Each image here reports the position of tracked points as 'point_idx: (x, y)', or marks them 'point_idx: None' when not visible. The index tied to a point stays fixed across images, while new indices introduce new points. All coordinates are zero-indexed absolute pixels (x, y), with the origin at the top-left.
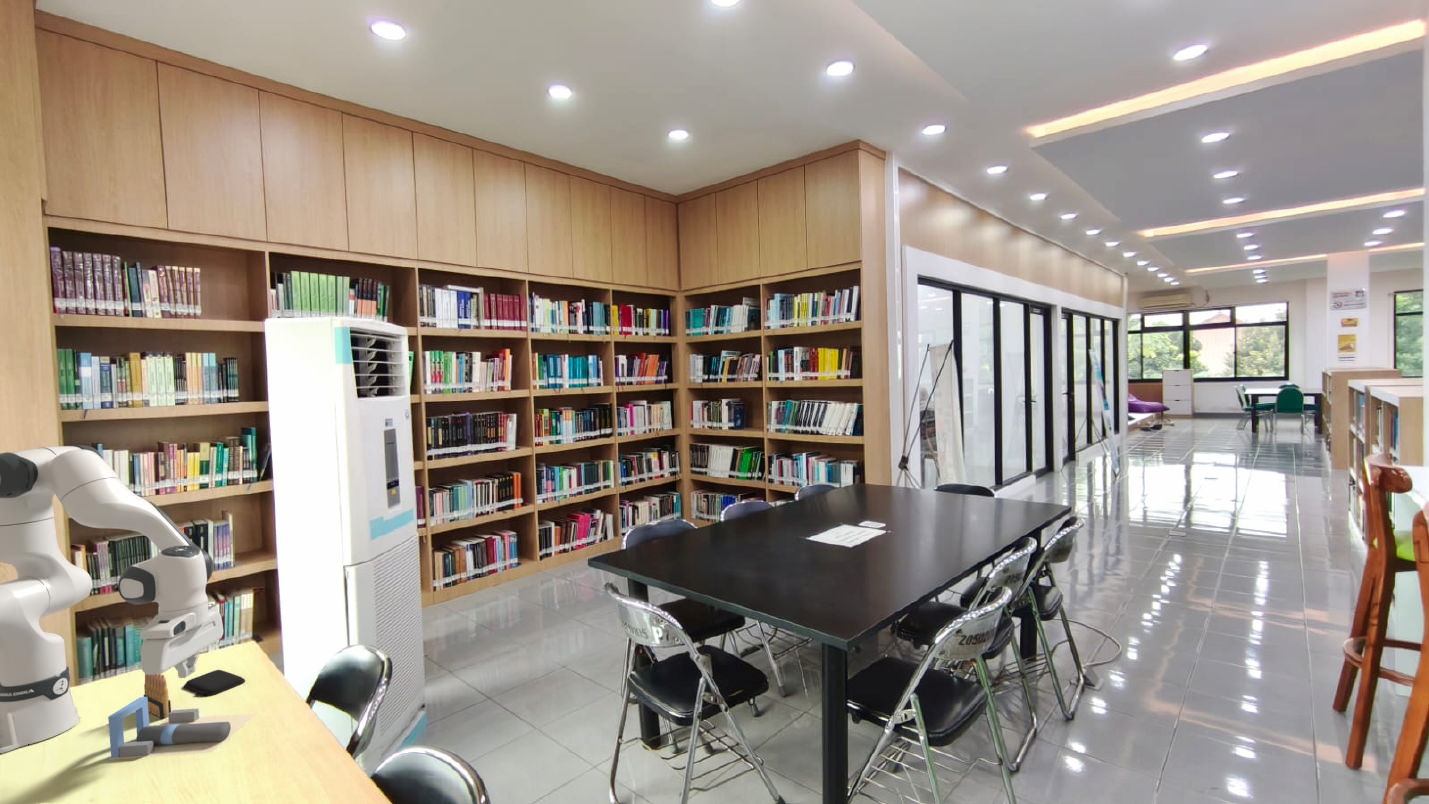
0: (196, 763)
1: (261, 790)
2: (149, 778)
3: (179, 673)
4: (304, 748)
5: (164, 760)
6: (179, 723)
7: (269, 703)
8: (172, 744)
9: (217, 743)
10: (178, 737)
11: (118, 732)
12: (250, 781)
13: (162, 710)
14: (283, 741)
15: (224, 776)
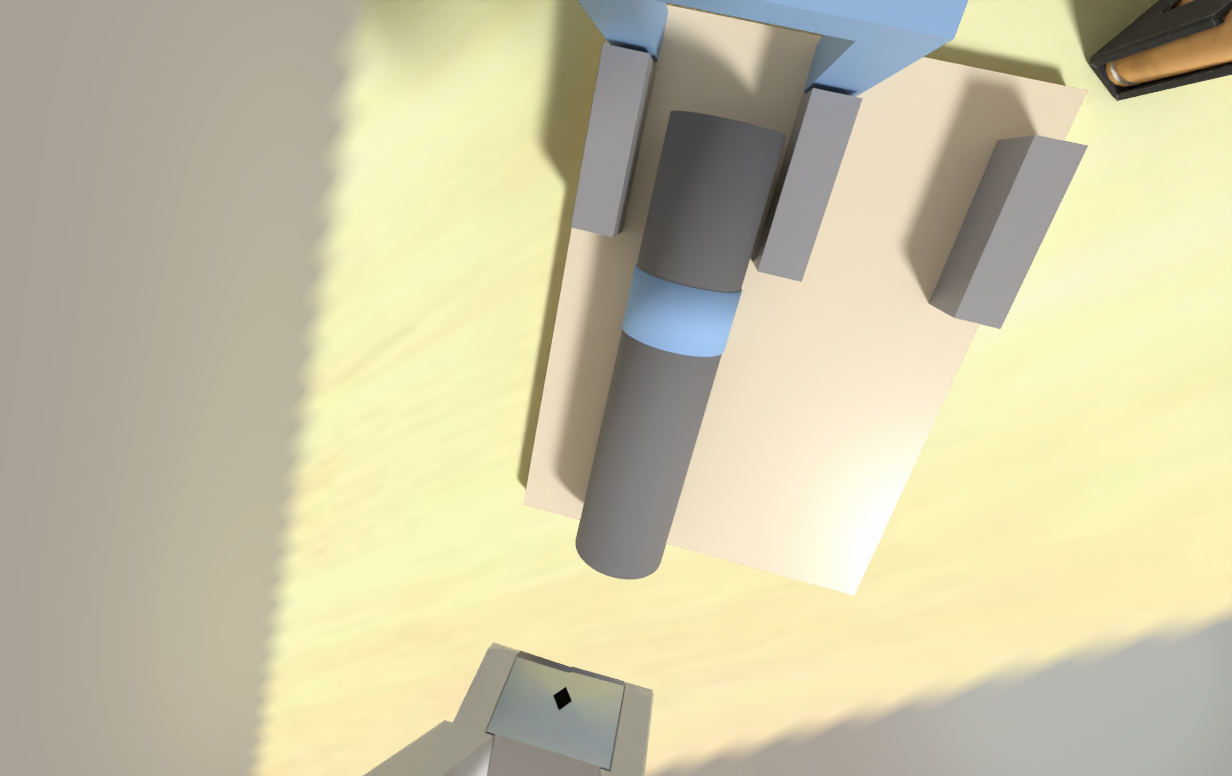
0: (492, 453)
1: (283, 684)
2: (419, 311)
3: (472, 694)
4: None
5: None
6: (953, 218)
7: (1007, 593)
8: None
9: None
10: (615, 361)
11: (595, 13)
12: (333, 650)
13: (1162, 38)
14: None
15: (376, 574)
